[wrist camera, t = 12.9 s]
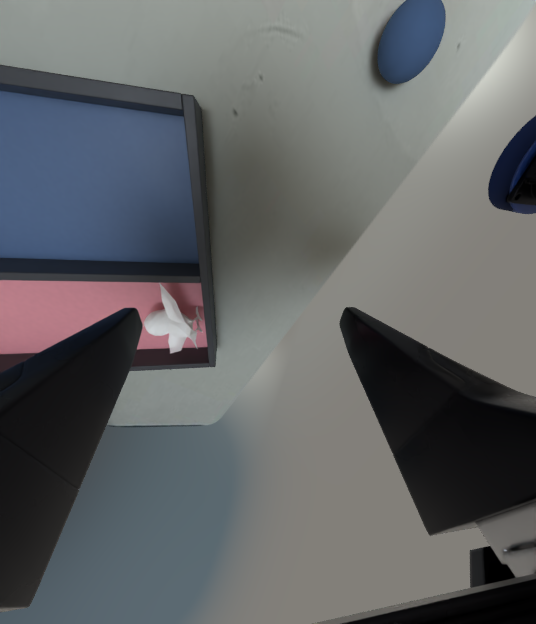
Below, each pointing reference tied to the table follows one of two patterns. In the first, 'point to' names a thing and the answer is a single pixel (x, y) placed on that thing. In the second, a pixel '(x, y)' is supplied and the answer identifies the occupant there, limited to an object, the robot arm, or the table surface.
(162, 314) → the white bird figurine
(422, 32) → the slate ball
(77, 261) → the tray
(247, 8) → the table surface
